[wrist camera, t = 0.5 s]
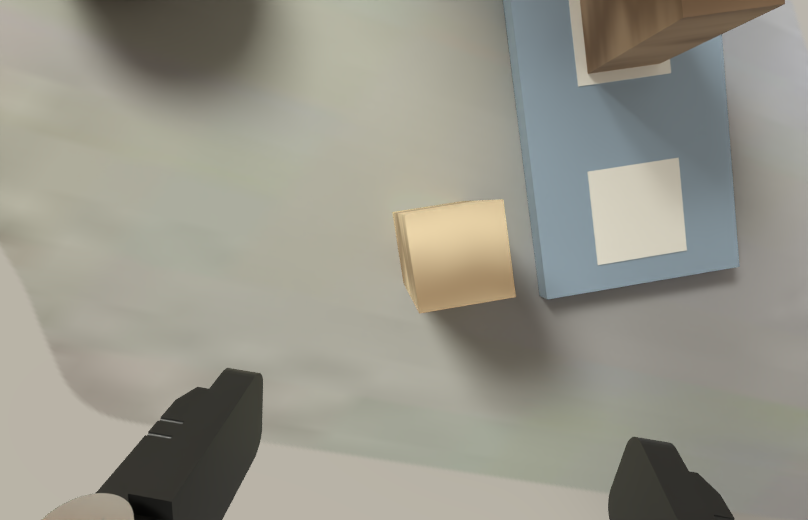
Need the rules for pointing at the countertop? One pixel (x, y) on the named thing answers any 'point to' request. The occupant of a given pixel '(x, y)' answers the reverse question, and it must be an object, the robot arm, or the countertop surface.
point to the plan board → (619, 158)
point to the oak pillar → (455, 254)
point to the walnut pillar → (657, 28)
